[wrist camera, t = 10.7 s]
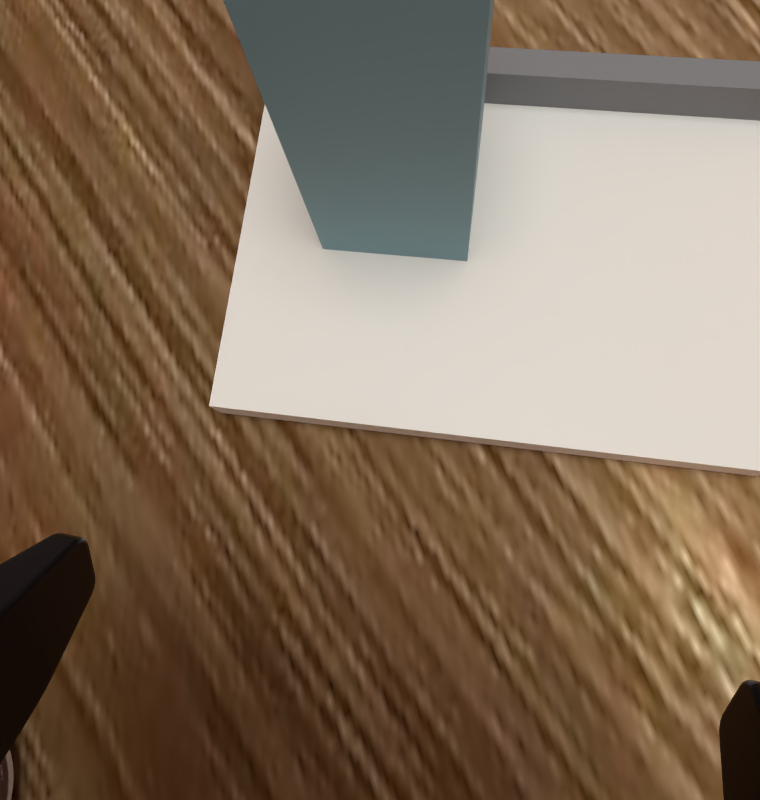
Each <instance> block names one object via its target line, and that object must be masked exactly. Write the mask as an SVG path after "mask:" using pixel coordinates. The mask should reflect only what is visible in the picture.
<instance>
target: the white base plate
mask: <svg viewBox="0 0 760 800" xmlns="http://www.w3.org/2000/svg"><path fill="white" fill-rule="evenodd" d="M209 406H210V407H212V408H213V409H215V410H216V411H218V412H220V413H226V414H235V415H243V416H252V417H260V418H269V419H277V420H286V421H294V422H302V423H311V424H319V425H328V426H336V427H345V428H353V429H361V430H370V431H378V432H387V433H395V434H404V435H412V436H420V437H429V438H437V439H446V440H454V441H463V442H471V443H479V444H488V445H496V446H505V447H513V448H522V449H530V450H538V451H547V452H555V453H564V454H572V455H581V456H589V457H597V458H606V459H614V460H623V461H631V462H640V463H648V464H657V465H665V466H673V467H682V468H690V469H699V470H707V471H716V472H724V473H732V474H741V475H749V476H759V475H760V62H756V61H738V60H719V59H701V58H683V57H664V56H646V55H628V54H609V53H591V52H573V51H554V50H536V49H518V48H499V47H490V48H489V58H488V69H487V80H486V90H485V101H484V111H483V122H482V132H481V141H480V150H479V159H478V168H477V178H476V187H475V196H474V205H473V214H472V223H471V232H470V241H469V250H468V259H467V261H458V260H446V259H435V258H423V257H411V256H399V255H387V254H375V253H363V252H352V251H340V250H328V249H323V248H322V245H321V243H320V240H319V238H318V235H317V233H316V230H315V228H314V225H313V223H312V220H311V218H310V215H309V213H308V210H307V208H306V205H305V203H304V200H303V198H302V195H301V193H300V190H299V188H298V185H297V183H296V181H295V178H294V176H293V173H292V171H291V168H290V166H289V163H288V161H287V158H286V156H285V153H284V151H283V148H282V146H281V143H280V141H279V138H278V136H277V133H276V131H275V128H274V126H273V123H272V121H271V118H270V116H269V113H268V111H267V108H266V106H264V112H263V117H262V122H261V128H260V133H259V139H258V144H257V149H256V155H255V160H254V166H253V171H252V177H251V182H250V187H249V193H248V198H247V204H246V209H245V214H244V220H243V225H242V231H241V236H240V241H239V247H238V252H237V258H236V263H235V268H234V274H233V279H232V285H231V290H230V295H229V301H228V306H227V312H226V317H225V322H224V328H223V333H222V339H221V344H220V349H219V355H218V360H217V366H216V371H215V376H214V382H213V387H212V393H211V398H210V403H209Z"/></svg>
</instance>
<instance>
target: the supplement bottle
mask: <svg viewBox="0 0 760 800" xmlns="http://www.w3.org/2000/svg"><path fill="white" fill-rule="evenodd" d="M13 781H14V771H13V762H12V757H11V753H10V750H9V751H8V753H7V755H6V756H5V758H4V759H3V761H2V763H1V764H0V800H11V797H12V791H13Z"/></svg>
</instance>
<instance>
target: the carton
mask: <svg viewBox="0 0 760 800" xmlns="http://www.w3.org/2000/svg"><path fill="white" fill-rule="evenodd" d="M223 1H224V3H225V6H226V8H227V11H228V13H229V16H230V18H231V21H232V23H233V26H234V28H235V31H236V33H237V36H238V38H239V41H240V43H241V46H242V48H243V51H244V53H245V56H246V58H247V61H248V63H249V66H250V68H251V71H252V73H253V76H254V78H255V81H256V83H257V86H258V88H259V91H260V93H261V96H262V98H263V101H264V103H265V106H266V108H267V111H268V113H269V116H270V118H271V121H272V123H273V126H274V128H275V131H276V133H277V136H278V138H279V141H280V143H281V146H282V148H283V151H284V153H285V156H286V158H287V161H288V163H289V166H290V168H291V171H292V173H293V176H294V178H295V181H296V183H297V185H298V188H299V190H300V193H301V195H302V198H303V200H304V203H305V205H306V208H307V210H308V213H309V215H310V218H311V220H312V223H313V225H314V228H315V230H316V233H317V235H318V238H319V240H320V243H321V245H322V248H323V249H328V250H340V251H352V252H363V253H375V254H387V255H399V256H411V257H423V258H435V259H446V260H458V261H467V259H468V250H469V241H470V232H471V223H472V214H473V205H474V196H475V187H476V178H477V168H478V159H479V150H480V141H481V132H482V122H483V111H484V101H485V90H486V80H487V69H488V58H489V48H490V37H491V27H492V16H493V6H494V0H223Z"/></svg>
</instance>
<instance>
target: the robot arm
mask: <svg viewBox="0 0 760 800" xmlns="http://www.w3.org/2000/svg"><path fill="white" fill-rule="evenodd" d="M94 585H95V573H94V568H93V564H92V559H91V555H90V550H89V546H88V543H87V541H86V540H85V539H84V538H82V537H78V536H73V535H68V534H64V533H57V534H54V535H52V536H49V537H48V538H46V539H44V540H42V541H41V542H39V543H37V544H35V545H34V546H32V547H30V548H28V549H26V550H25V551H23V552H21V553H19V554H18V555H16V556H14V557H12V558H10V559H9V560H7V561H5V562H3V563H2V564H0V764H1V763H2V761H3V759H4V758H5V756H6V755H7V753H8V751H9V750H10V748H11V746H12V745H13V743H14V741H15V740H16V738H17V737H18V735H19V733H20V732H21V730H22V728H23V727H24V725H25V723H26V722H27V720H28V719H29V717H30V715H31V714H32V712H33V710H34V709H35V707H36V705H37V704H38V702H39V700H40V698H41V697H42V695H43V693H44V692H45V690H46V688H47V686H48V684H49V682H50V680H51V678H52V676H53V674H54V672H55V670H56V668H57V666H58V664H59V662H60V659H61V657H62V655H63V653H64V651H65V649H66V647H67V645H68V643H69V641H70V639H71V636H72V634H73V632H74V630H75V628H76V626H77V624H78V622H79V620H80V618H81V616H82V613H83V611H84V609H85V607H86V605H87V603H88V601H89V599H90V597H91V595H92V592H93V589H94ZM719 737H720V752H721V766H722V781H723V795H724V800H760V682H758V681H754V680H747V681H745V682H743V683H742V684H741V685H740V687H739V688H738V690H737V692H736V693H735V695H734V696H733V698H732V700H731V701H730V703H729V705H728V706H727V708H726V710H725V711H724V713H723V715H722V718H721V721H720V728H719Z"/></svg>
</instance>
